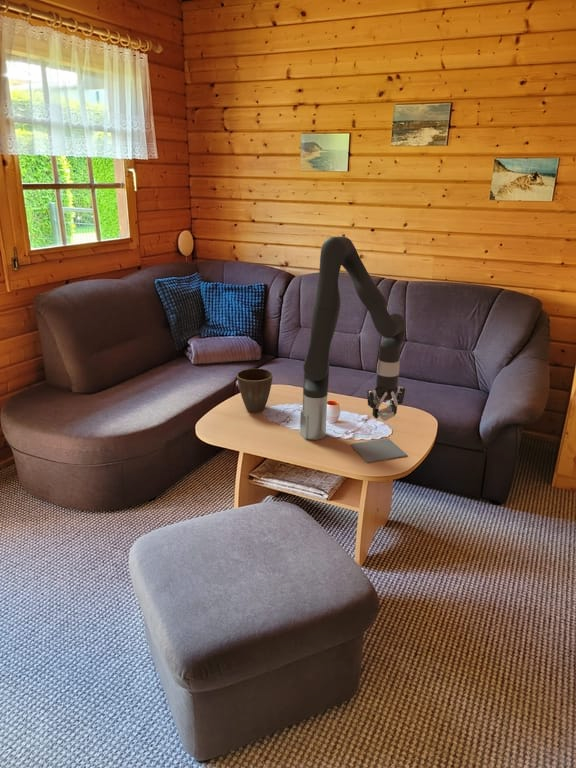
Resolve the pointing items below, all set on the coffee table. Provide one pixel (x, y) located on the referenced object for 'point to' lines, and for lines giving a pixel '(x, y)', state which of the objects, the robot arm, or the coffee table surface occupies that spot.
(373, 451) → the mat
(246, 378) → the plant pot
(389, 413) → the lighter
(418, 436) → the coffee table surface
